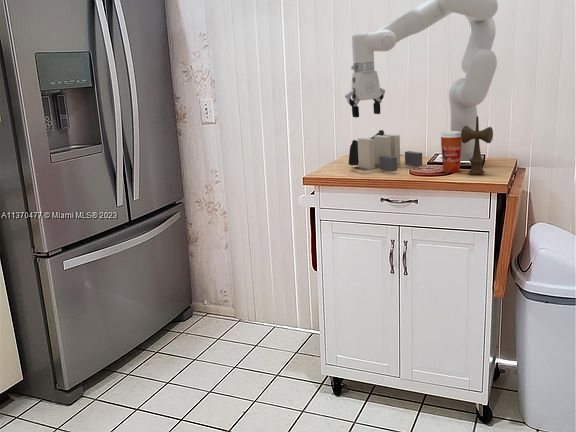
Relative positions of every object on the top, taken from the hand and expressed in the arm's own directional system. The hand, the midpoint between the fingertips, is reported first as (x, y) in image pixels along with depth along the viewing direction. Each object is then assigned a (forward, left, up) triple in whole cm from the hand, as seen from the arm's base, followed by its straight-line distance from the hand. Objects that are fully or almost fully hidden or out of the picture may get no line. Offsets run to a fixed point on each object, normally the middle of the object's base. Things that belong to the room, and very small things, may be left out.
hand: (366, 115), depth 220 cm
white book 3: (0, -11, -20) cm, 23 cm away
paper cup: (-24, -19, -21) cm, 37 cm away
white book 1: (0, +1, -20) cm, 20 cm away
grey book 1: (-9, -2, -21) cm, 23 cm away
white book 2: (0, -7, -20) cm, 21 cm away
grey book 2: (-9, -14, -21) cm, 27 cm away
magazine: (+16, -13, -21) cm, 29 cm away
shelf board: (+1, -4, -21) cm, 21 cm away
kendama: (-34, -21, -21) cm, 45 cm away
